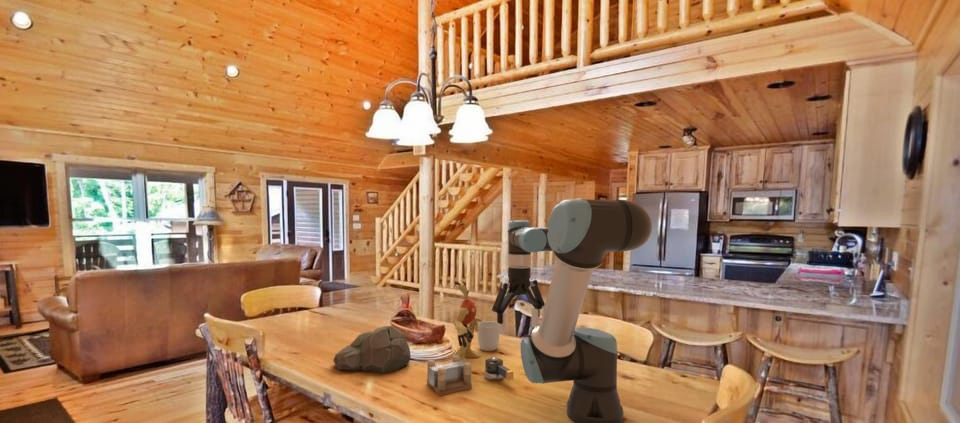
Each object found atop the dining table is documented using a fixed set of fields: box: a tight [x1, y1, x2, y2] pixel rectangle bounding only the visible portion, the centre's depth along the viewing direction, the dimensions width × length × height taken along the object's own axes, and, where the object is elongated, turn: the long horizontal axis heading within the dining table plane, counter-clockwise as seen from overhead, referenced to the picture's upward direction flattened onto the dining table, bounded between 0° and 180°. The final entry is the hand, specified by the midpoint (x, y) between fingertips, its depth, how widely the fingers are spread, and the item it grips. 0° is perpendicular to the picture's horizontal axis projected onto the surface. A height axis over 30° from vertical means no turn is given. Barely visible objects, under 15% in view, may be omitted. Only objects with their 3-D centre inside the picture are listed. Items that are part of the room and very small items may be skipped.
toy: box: [453, 281, 483, 363], centre depth 154 cm, size 23×9×30 cm, turn 168°
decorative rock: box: [333, 325, 411, 374], centre depth 154 cm, size 27×22×15 cm
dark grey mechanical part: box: [484, 356, 514, 381], centre depth 139 cm, size 13×6×4 cm, turn 31°
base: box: [484, 370, 504, 382], centre depth 142 cm, size 6×6×2 cm
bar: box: [429, 360, 466, 387], centre depth 134 cm, size 4×12×5 cm, turn 120°
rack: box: [426, 354, 473, 396], centre depth 134 cm, size 10×11×8 cm
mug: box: [476, 320, 501, 352], centre depth 173 cm, size 13×9×10 cm
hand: (519, 330), depth 140 cm, fingers open, 13 cm apart
